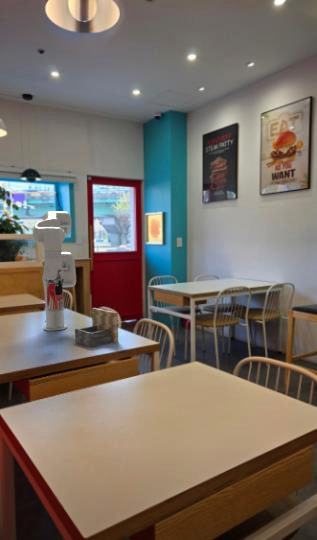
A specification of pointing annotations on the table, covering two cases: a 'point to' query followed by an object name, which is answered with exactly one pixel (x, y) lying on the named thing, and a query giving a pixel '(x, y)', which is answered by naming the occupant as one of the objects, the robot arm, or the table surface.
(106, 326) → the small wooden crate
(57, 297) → the soda can
